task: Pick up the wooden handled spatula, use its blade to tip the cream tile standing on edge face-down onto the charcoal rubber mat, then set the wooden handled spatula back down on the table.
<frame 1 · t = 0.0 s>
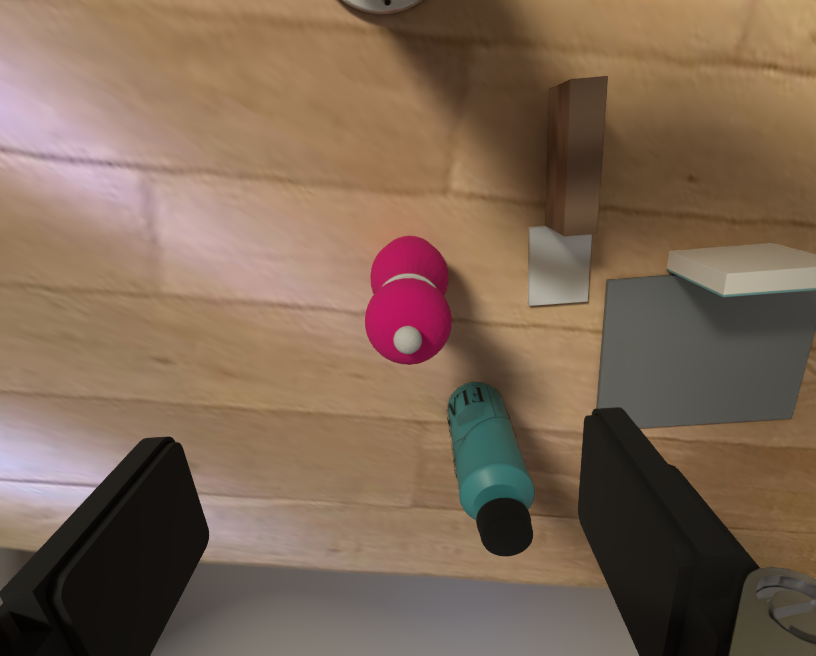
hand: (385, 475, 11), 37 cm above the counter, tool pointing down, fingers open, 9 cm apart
beverage bottle: (473, 398, 52), on the counter
pepper mill: (409, 266, 46), on the counter
tile: (718, 256, 46), on the counter
tile mat: (702, 351, 49), on the counter
wooden handled spatula: (559, 214, 44), on the counter
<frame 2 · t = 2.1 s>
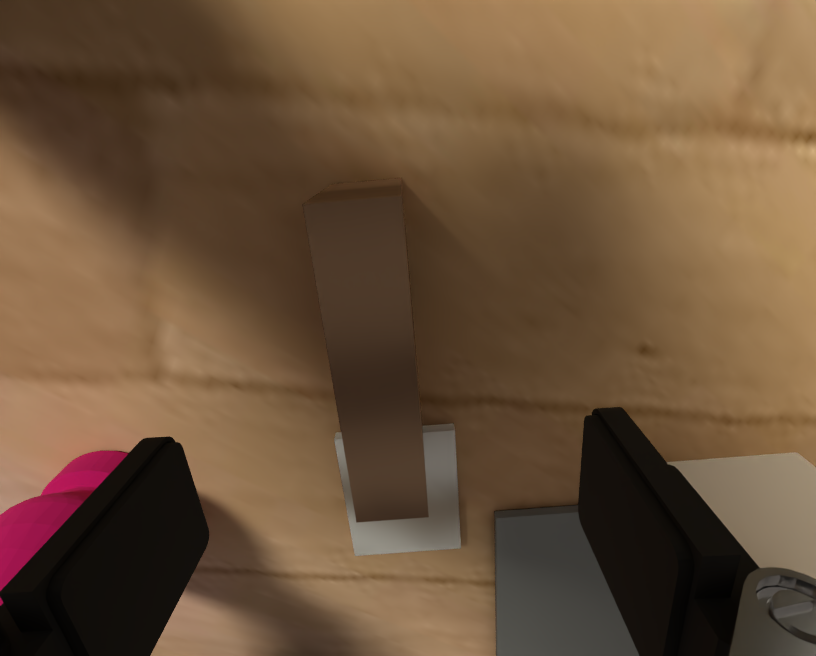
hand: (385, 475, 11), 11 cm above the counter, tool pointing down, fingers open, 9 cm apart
pepper mill: (124, 493, 25), on the counter
tile: (697, 474, 24), on the counter
tile mat: (670, 607, 28), on the counter
wooden handled spatula: (392, 411, 23), on the counter
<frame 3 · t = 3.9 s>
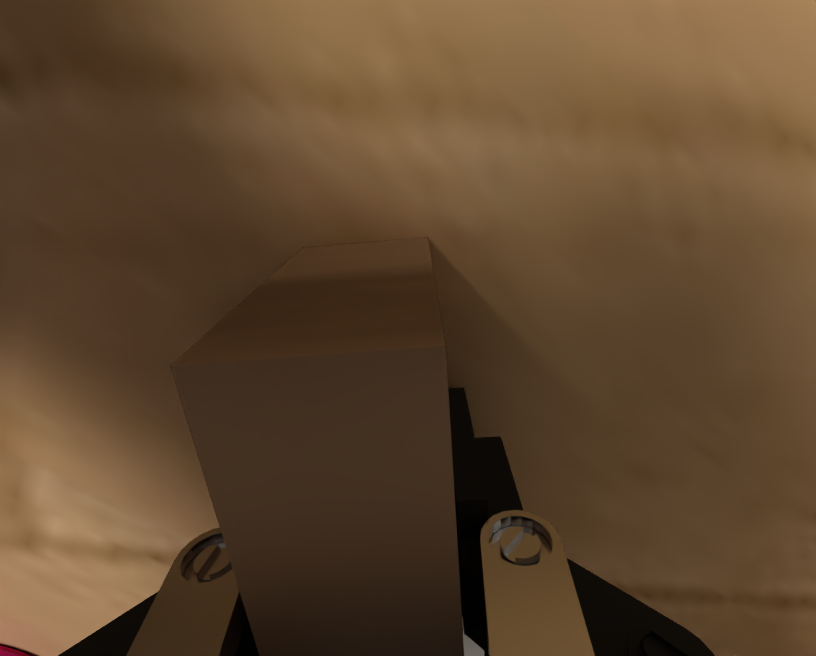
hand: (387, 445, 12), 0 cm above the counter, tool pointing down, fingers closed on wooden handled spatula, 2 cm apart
wooden handled spatula: (407, 593, 14), on the counter, touching gripper
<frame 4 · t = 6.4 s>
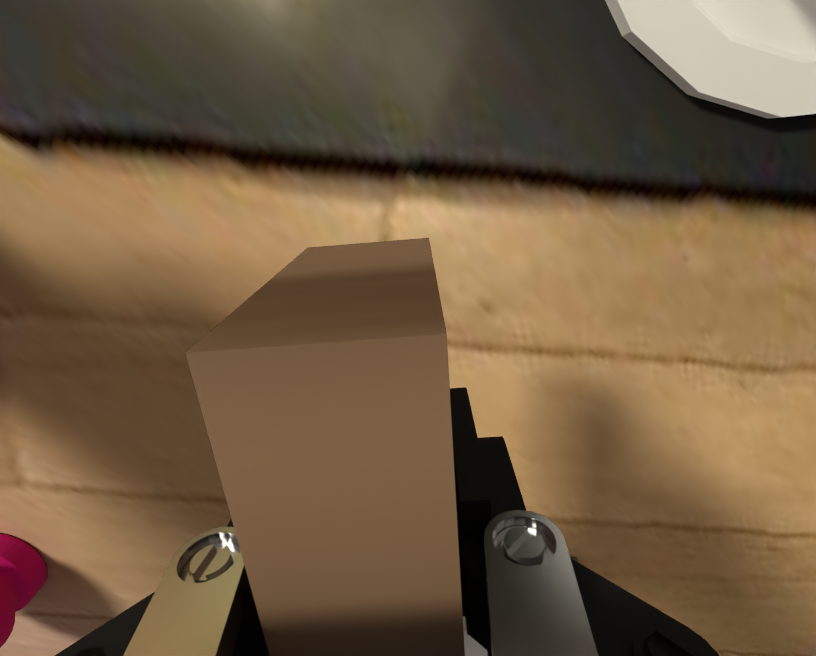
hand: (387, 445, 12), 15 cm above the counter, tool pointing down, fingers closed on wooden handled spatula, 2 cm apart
pepper mill: (6, 560, 34), on the counter
wooden handled spatula: (407, 591, 14), point 14 cm above the counter, touching gripper
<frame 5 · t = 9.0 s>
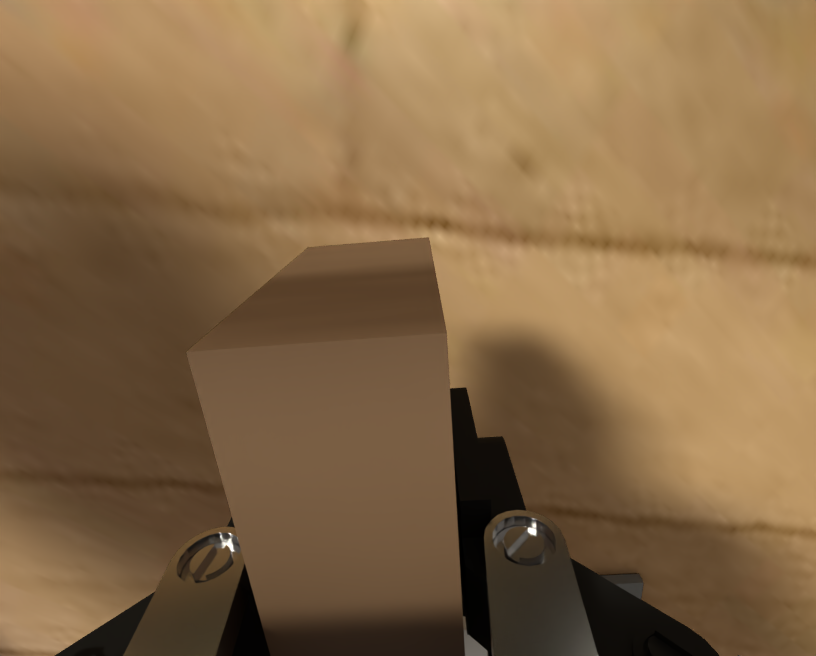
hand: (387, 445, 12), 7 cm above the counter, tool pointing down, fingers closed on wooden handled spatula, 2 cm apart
wooden handled spatula: (407, 591, 14), point 7 cm above the counter, touching gripper
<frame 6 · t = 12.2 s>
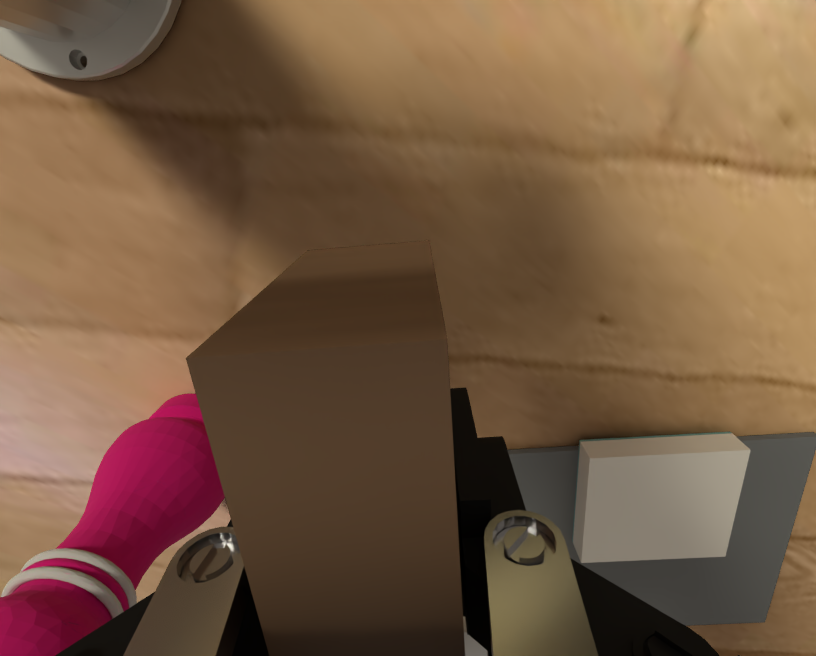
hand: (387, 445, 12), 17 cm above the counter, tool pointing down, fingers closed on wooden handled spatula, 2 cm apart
pepper mill: (202, 430, 32), on the counter
tile: (661, 444, 30), point 1 cm above the counter, tilted 90°, touching tile mat
tile mat: (635, 540, 35), on the counter
wooden handled spatula: (407, 593, 14), point 16 cm above the counter, touching gripper
when the fingers open (2 cm above the counter, at t = 15.2 s): wooden handled spatula drops 1 cm, on the counter.
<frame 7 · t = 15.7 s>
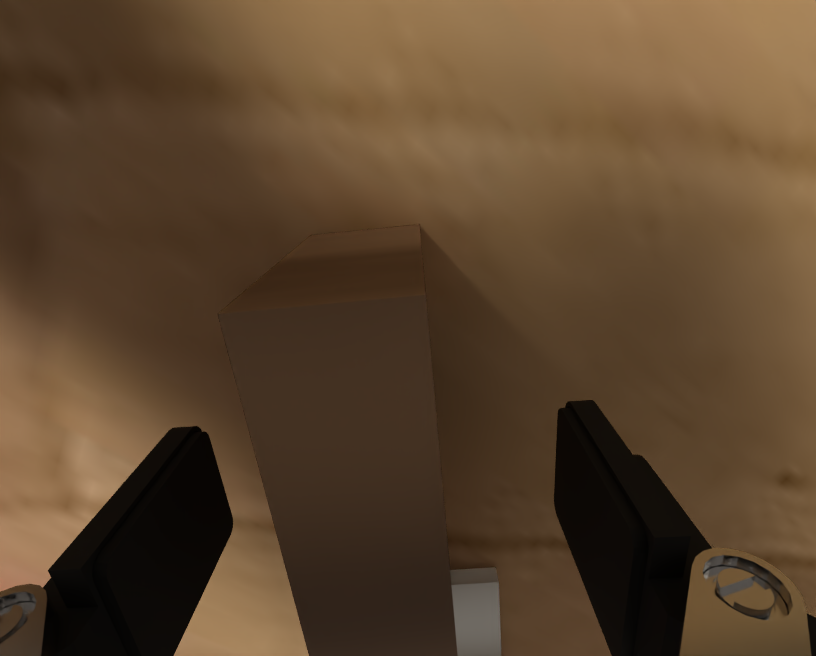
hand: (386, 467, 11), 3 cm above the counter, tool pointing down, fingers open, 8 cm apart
wooden handled spatula: (407, 551, 16), on the counter
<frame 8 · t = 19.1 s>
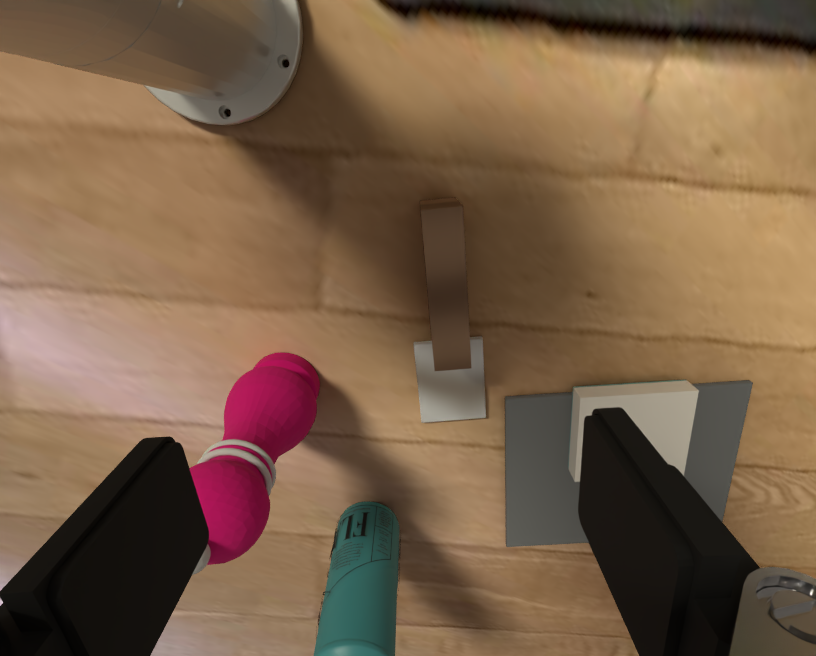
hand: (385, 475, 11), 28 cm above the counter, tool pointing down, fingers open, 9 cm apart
beverage bottle: (370, 512, 48), on the counter
pepper mill: (286, 381, 42), on the counter
tile: (634, 388, 40), point 1 cm above the counter, tilted 90°, touching tile mat
tile mat: (617, 468, 45), on the counter
wooden handled spatula: (446, 328, 40), on the counter
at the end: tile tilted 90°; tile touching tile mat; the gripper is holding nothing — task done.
